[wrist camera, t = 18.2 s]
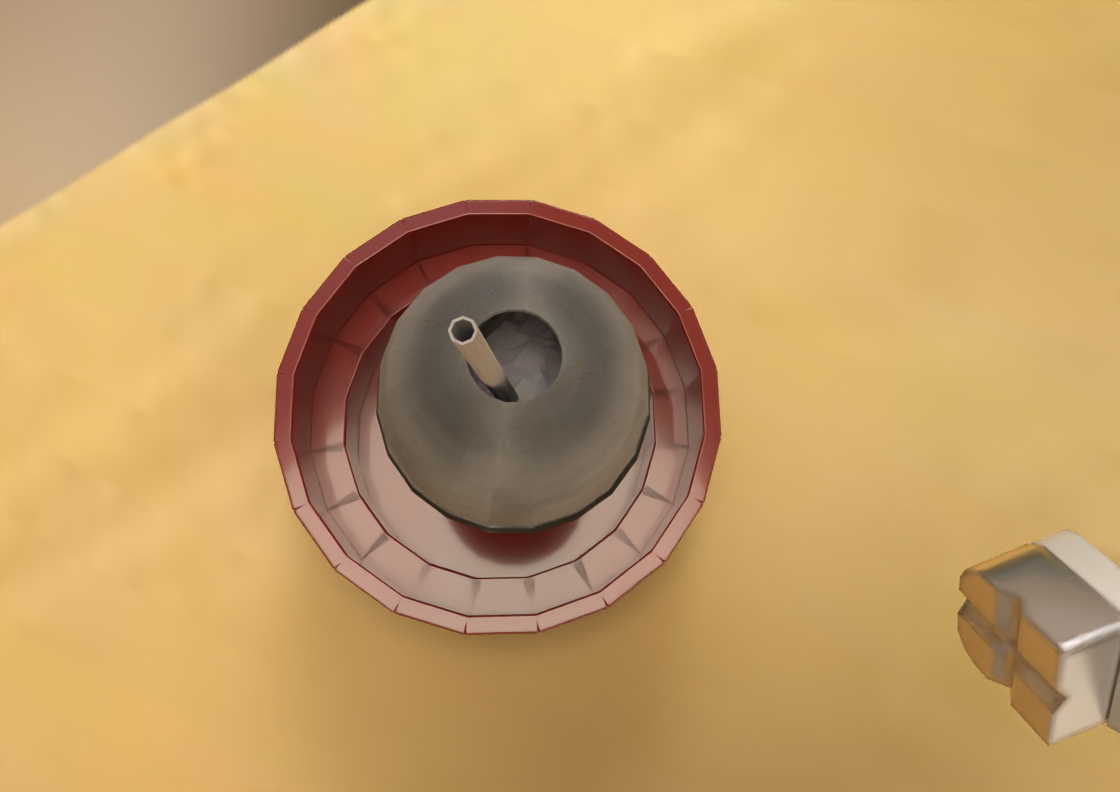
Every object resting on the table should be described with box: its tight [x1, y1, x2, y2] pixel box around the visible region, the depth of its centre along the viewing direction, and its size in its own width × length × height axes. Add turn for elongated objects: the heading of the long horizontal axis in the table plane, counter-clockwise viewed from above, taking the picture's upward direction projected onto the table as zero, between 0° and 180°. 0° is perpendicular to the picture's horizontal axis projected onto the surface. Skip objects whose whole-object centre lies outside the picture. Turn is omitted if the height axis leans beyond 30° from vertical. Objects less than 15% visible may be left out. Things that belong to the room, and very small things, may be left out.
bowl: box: [274, 200, 721, 635], centre depth 32 cm, size 15×15×6 cm
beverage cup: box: [376, 256, 650, 533], centre depth 25 cm, size 7×7×20 cm
